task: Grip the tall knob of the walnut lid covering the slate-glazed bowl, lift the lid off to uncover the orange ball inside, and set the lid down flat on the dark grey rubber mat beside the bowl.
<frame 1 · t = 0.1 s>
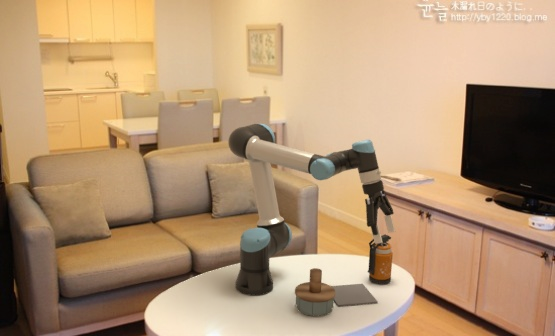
hand: (385, 237, 207), 28 cm above the table, tool tilted 20°, fingers open, 13 cm apart
slate bowl: (314, 307, 211), on the table
canister: (377, 281, 236), on the table
walnut lid: (315, 293, 210), point 6 cm above the table, touching slate bowl
rubber mat: (350, 295, 222), on the table
orange ball: (314, 299, 210), point 3 cm above the table, touching slate bowl
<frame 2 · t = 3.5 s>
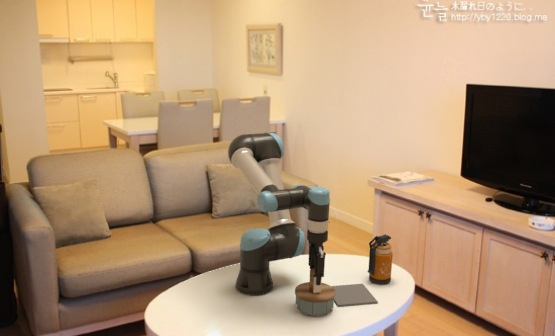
hand: (315, 288, 209), 8 cm above the table, tool pointing down, fingers closed on walnut lid, 4 cm apart
walnut lid: (315, 293, 210), point 6 cm above the table, touching gripper, slate bowl
everything else where it was.
when the fingers open (4 cm above the table, at t = 11.2 s): walnut lid drops 2 cm, resting on rubber mat.
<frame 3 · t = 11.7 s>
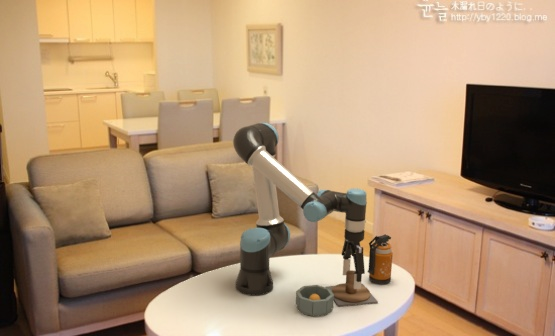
hand: (351, 281, 220), 6 cm above the table, tool pointing down, fingers open, 12 cm apart
walnut lid: (350, 293, 221), point 1 cm above the table, touching rubber mat
everything else where it was.
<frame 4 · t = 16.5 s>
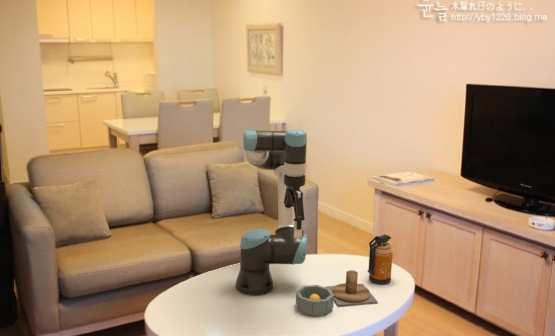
hand: (293, 231, 203), 31 cm above the table, tool pointing down, fingers open, 13 cm apart
nothing on the table moved.
at the end: walnut lid inside the target area (0.0 cm from its centre), point 0.8 cm above the table; walnut lid tilted 0°; walnut lid touching rubber mat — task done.
